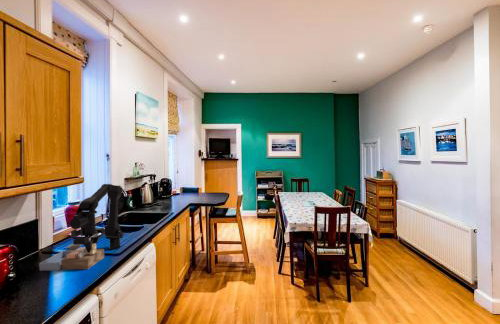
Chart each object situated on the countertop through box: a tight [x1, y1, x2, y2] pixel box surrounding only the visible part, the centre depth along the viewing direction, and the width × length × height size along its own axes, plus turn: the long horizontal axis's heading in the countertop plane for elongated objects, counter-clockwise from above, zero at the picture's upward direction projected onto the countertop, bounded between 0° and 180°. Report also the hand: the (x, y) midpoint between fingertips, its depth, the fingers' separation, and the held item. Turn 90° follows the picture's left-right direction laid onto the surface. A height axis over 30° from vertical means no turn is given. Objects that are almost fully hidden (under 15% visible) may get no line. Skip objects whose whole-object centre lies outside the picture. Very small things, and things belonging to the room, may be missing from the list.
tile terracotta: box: [67, 250, 80, 259], centre depth 134 cm, size 4×4×2 cm
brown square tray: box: [61, 248, 105, 270], centre depth 137 cm, size 14×14×5 cm
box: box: [38, 250, 73, 272], centre depth 138 cm, size 16×10×4 cm, turn 179°
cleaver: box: [64, 243, 84, 251], centre depth 161 cm, size 30×10×2 cm, turn 8°
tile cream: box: [74, 246, 85, 251], centre depth 140 cm, size 4×4×2 cm
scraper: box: [78, 243, 97, 258], centre depth 137 cm, size 12×5×5 cm, turn 179°
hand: (91, 251), depth 137 cm, fingers closed on scraper, 3 cm apart
